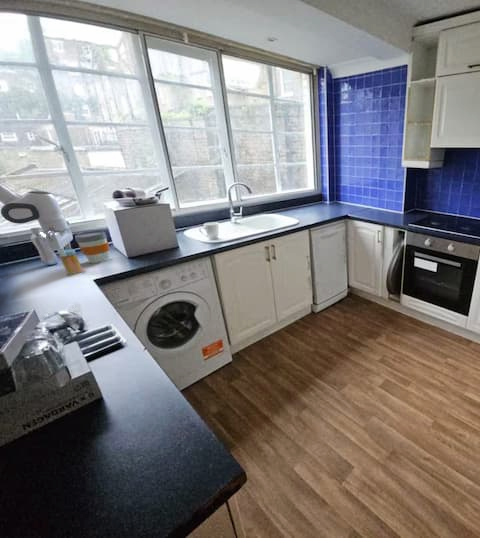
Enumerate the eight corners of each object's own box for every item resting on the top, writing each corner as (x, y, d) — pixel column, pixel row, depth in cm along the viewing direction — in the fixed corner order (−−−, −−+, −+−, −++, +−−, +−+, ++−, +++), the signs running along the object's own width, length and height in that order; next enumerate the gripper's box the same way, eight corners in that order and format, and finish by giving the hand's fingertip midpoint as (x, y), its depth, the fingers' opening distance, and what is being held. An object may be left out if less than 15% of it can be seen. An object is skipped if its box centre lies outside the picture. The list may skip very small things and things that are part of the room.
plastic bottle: (52, 266, 155) (35, 229, 147) (40, 266, 155) (21, 230, 147) (64, 261, 161) (47, 226, 153) (52, 262, 161) (35, 226, 153)
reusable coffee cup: (85, 266, 154) (73, 239, 148) (85, 260, 162) (74, 234, 157) (115, 260, 161) (105, 233, 155) (113, 254, 170) (104, 229, 164)
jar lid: (73, 255, 142) (72, 251, 141) (57, 257, 139) (55, 254, 139) (77, 251, 147) (75, 248, 146) (61, 254, 144) (59, 250, 143)
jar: (67, 275, 143) (57, 255, 139) (67, 272, 147) (58, 252, 143) (82, 272, 146) (74, 252, 142) (83, 269, 151) (74, 249, 146)
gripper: (56, 230, 131) (69, 259, 136) (69, 221, 147) (80, 247, 152) (37, 232, 128) (51, 261, 133) (53, 222, 144) (64, 249, 150)
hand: (67, 253), depth 143 cm, fingers closed on jar lid, 6 cm apart
